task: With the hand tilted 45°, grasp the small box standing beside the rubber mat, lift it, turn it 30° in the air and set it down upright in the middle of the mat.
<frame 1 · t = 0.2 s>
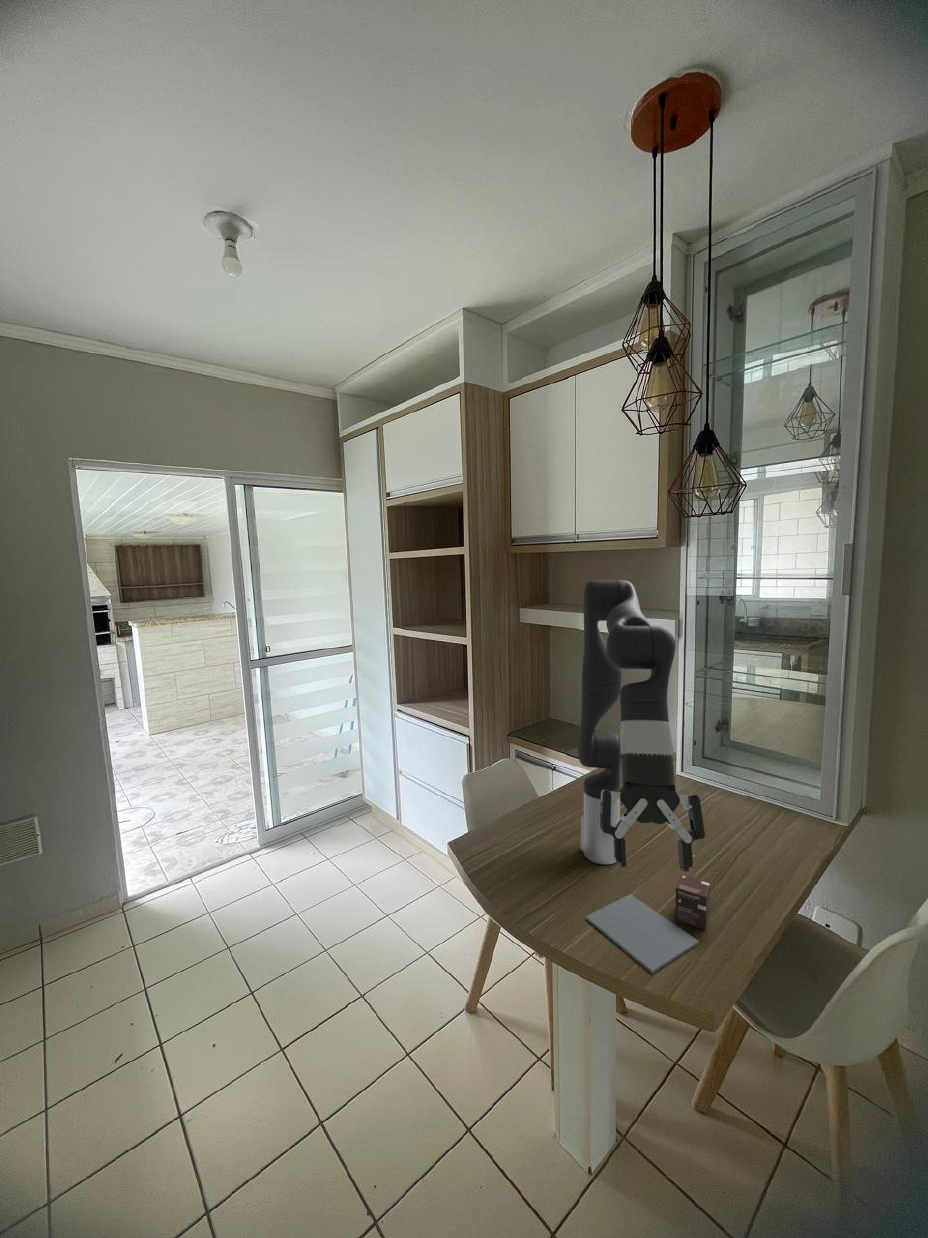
hand: (653, 868, 69), 31 cm above the table, tool tilted 20°, fingers open, 8 cm apart
box: (692, 918, 103), on the table
mat: (640, 931, 99), on the table
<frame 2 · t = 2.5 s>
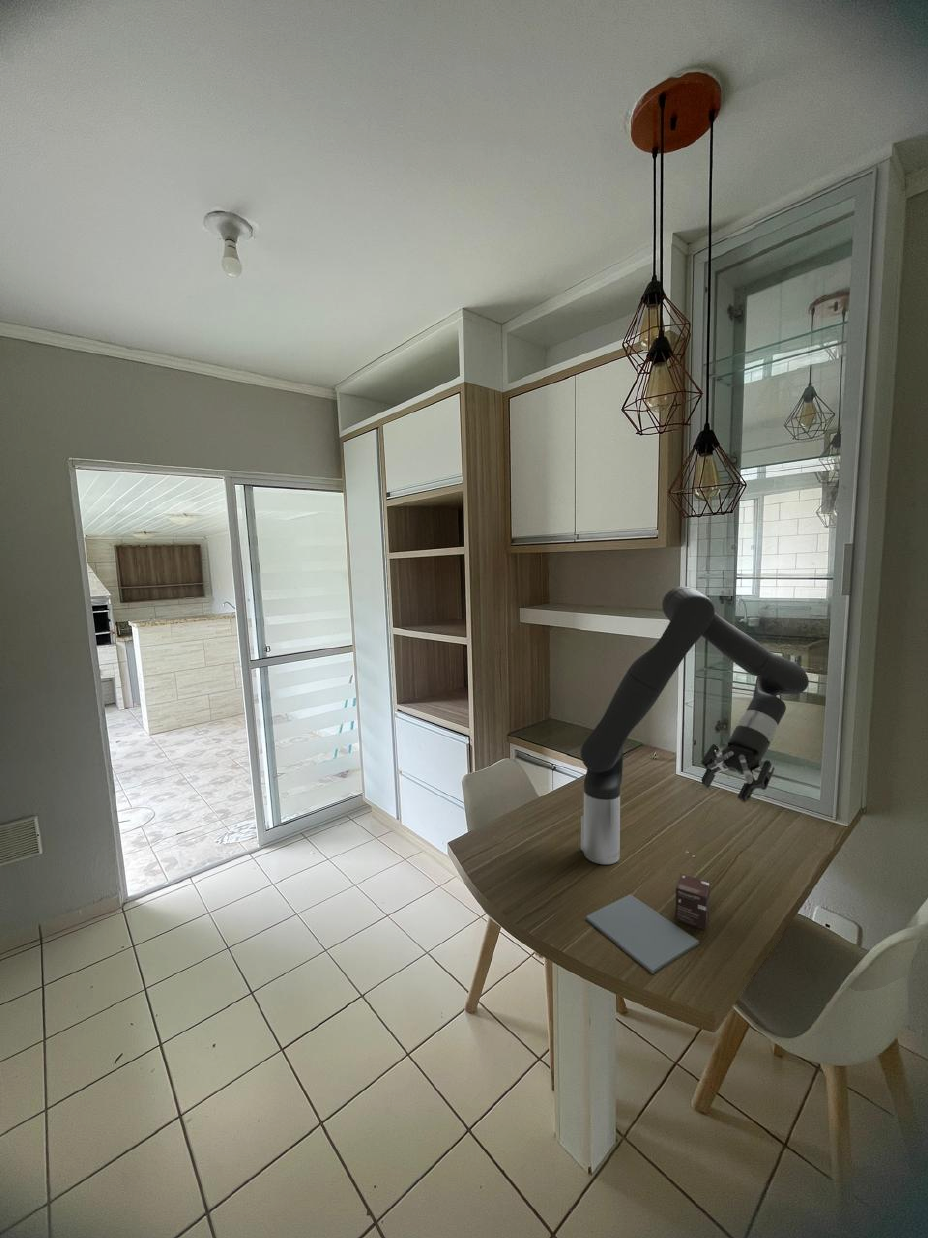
hand: (722, 793, 108), 25 cm above the table, tool tilted 45°, fingers open, 8 cm apart
nothing on the table moved.
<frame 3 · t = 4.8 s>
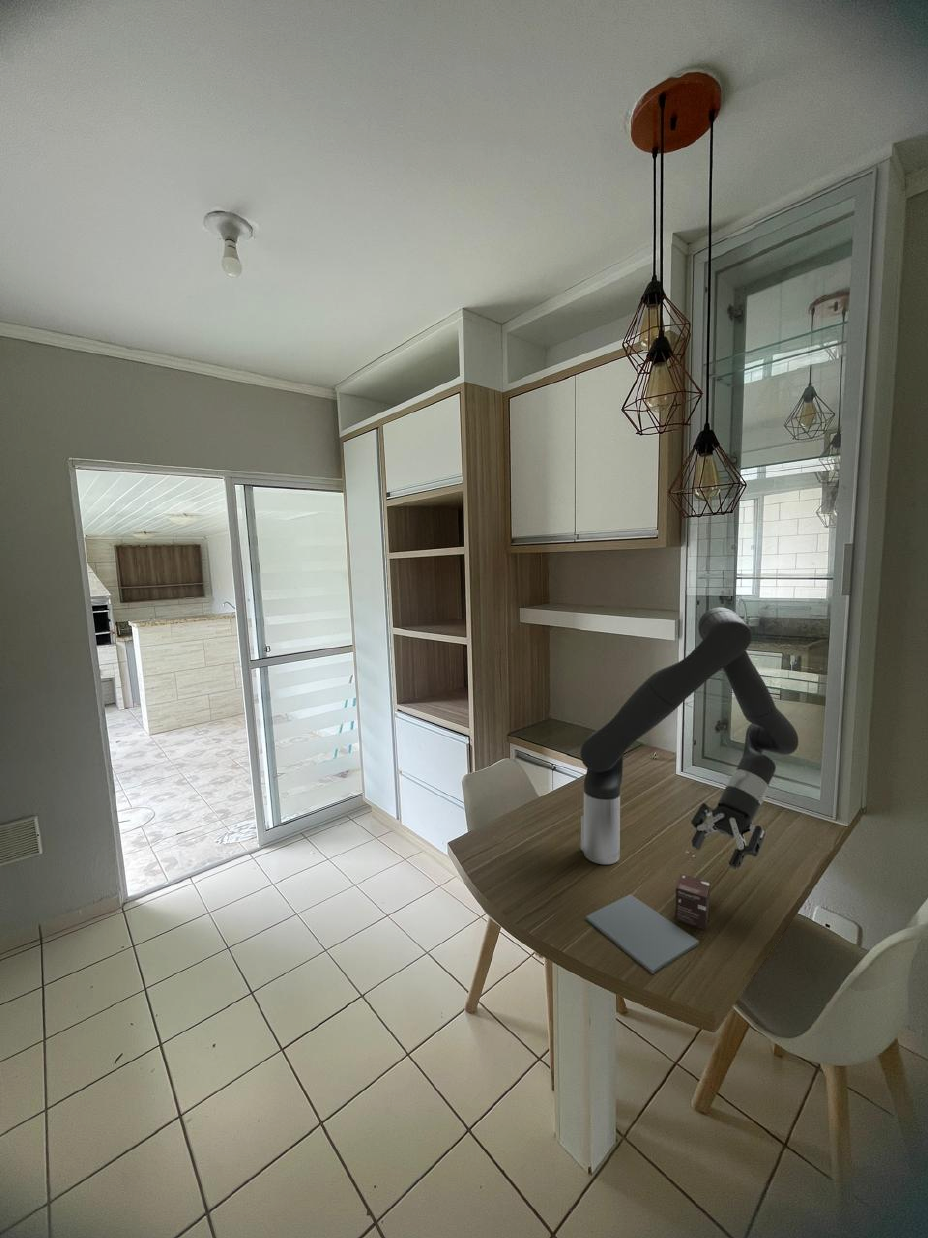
hand: (712, 857, 106), 11 cm above the table, tool tilted 45°, fingers open, 8 cm apart
nothing on the table moved.
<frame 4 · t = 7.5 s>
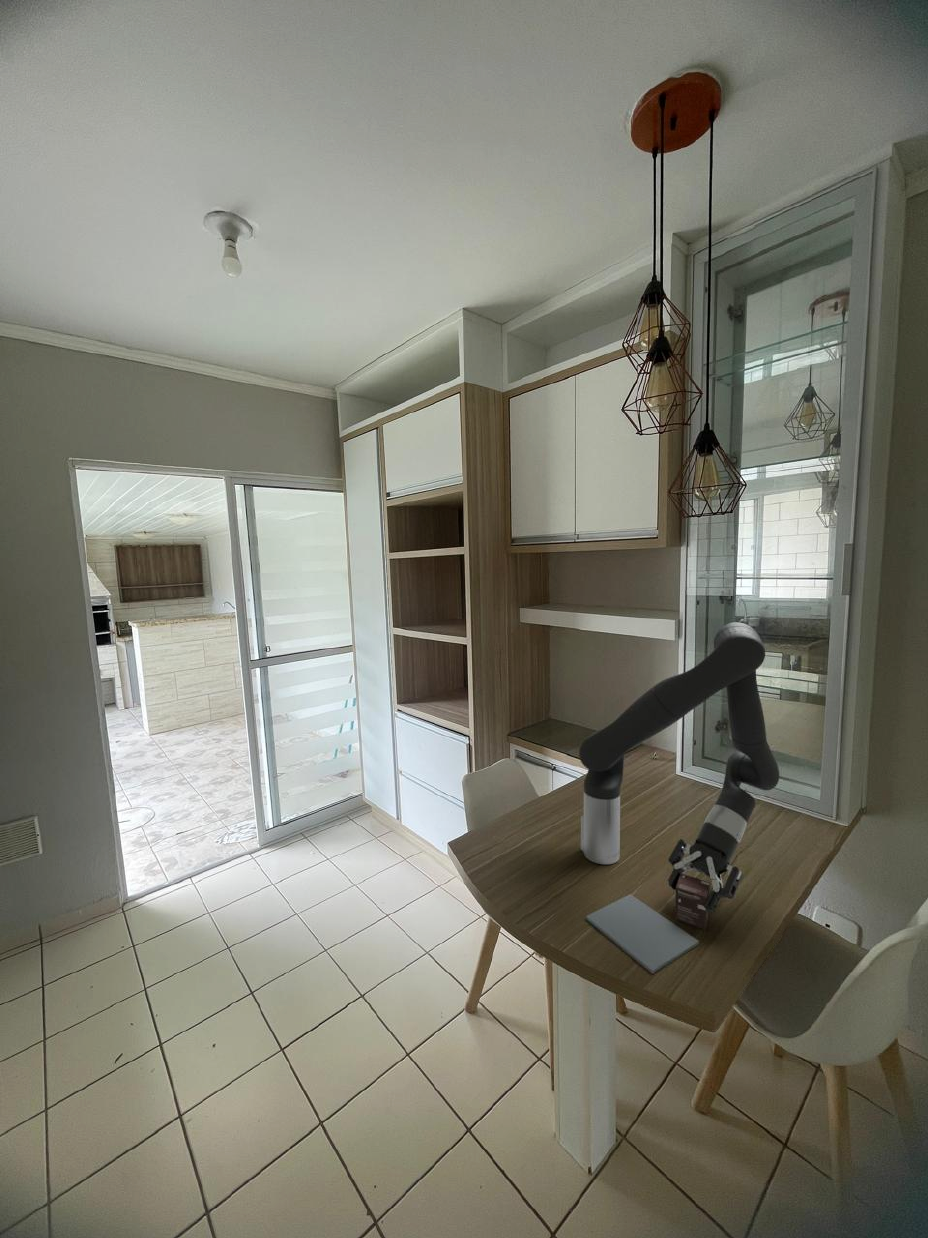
hand: (688, 898, 102), 5 cm above the table, tool tilted 45°, fingers closed on box, 8 cm apart
box: (692, 917, 103), on the table, touching gripper
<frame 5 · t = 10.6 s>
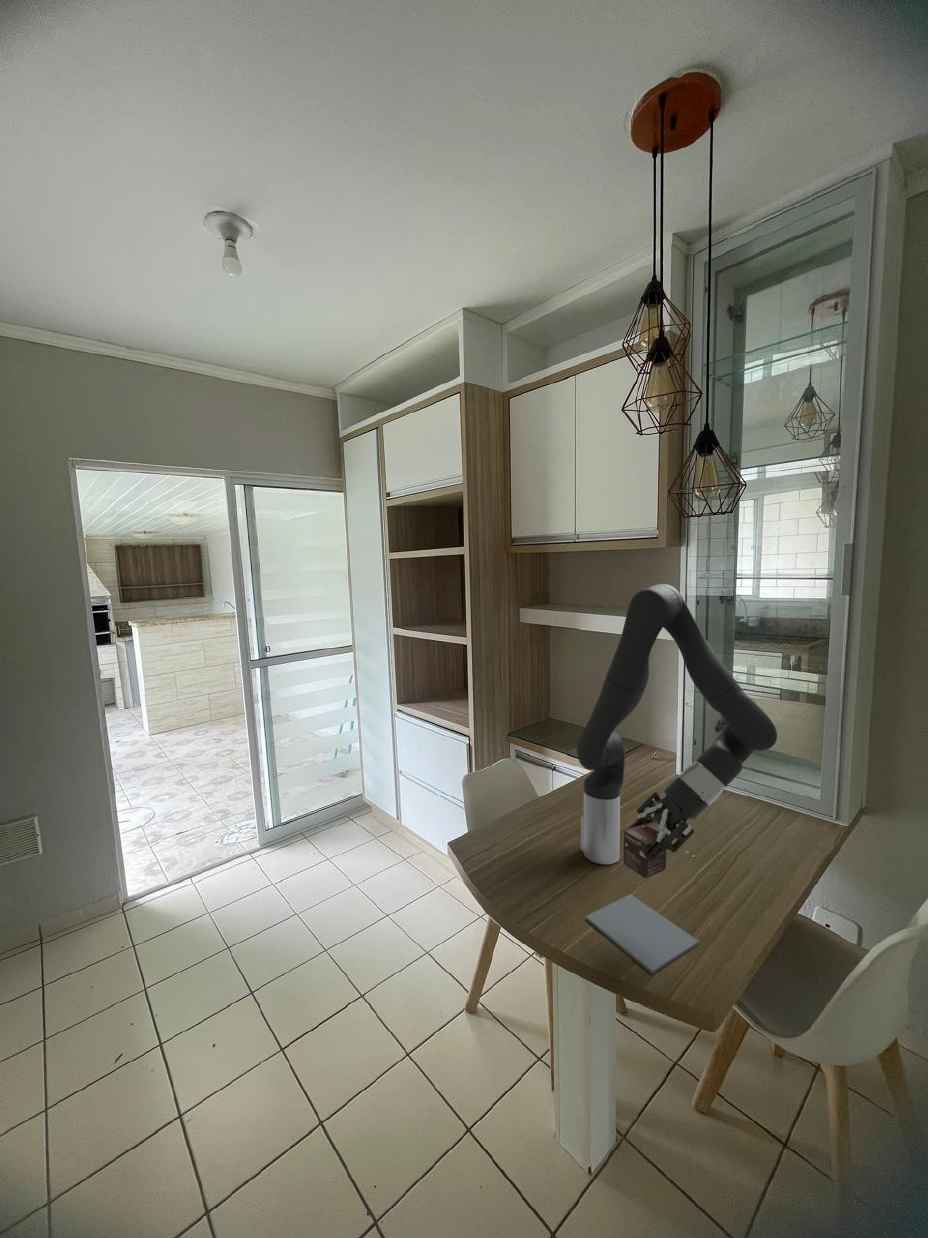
hand: (638, 845, 98), 18 cm above the table, tool tilted 45°, fingers closed on box, 8 cm apart
box: (644, 868, 98), point 14 cm above the table, touching gripper
when the fingers open (7 cm above the table, at t = 14.0 s): box drops 1 cm, resting on mat.
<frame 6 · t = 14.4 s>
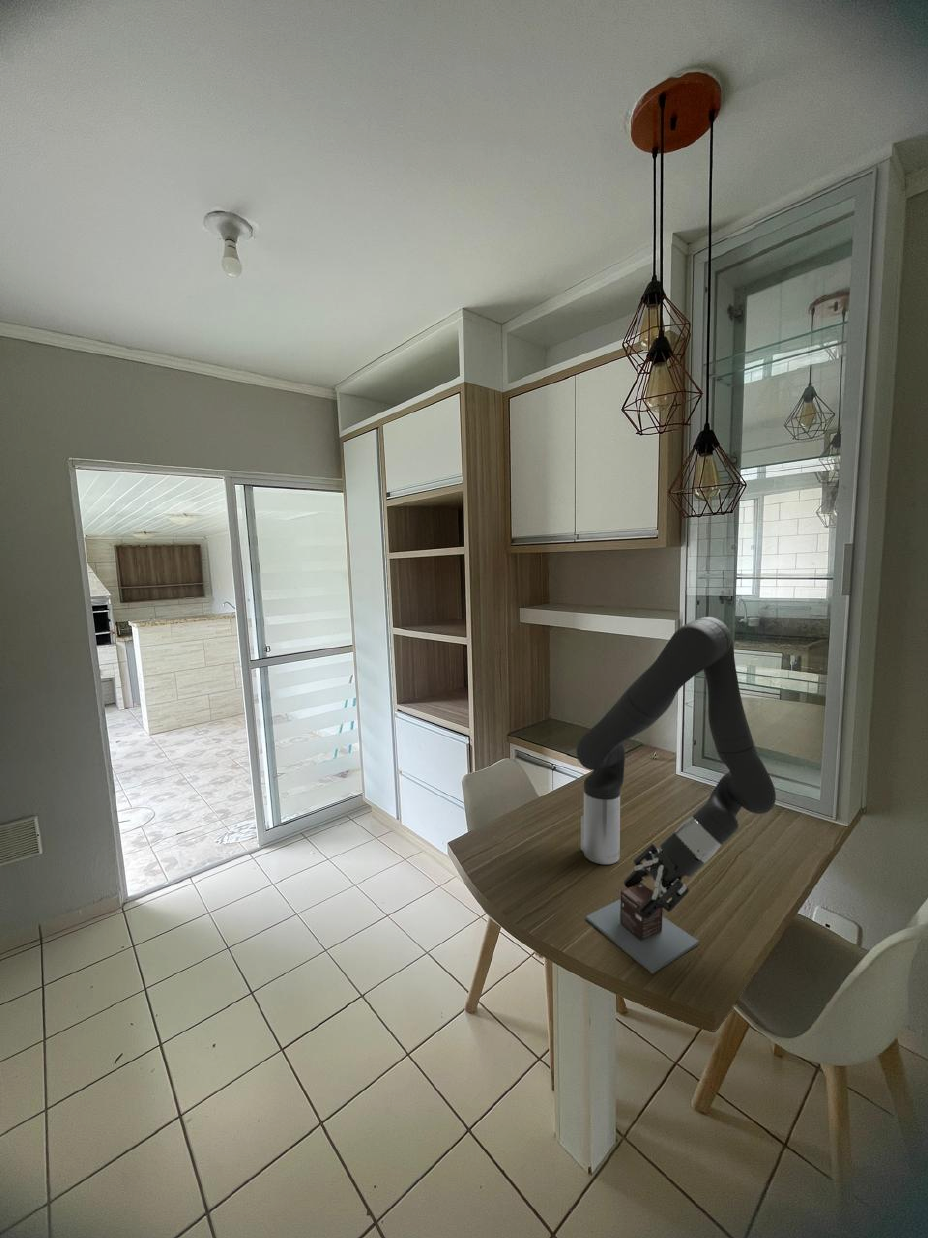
hand: (634, 900, 99), 7 cm above the table, tool tilted 45°, fingers open, 8 cm apart
box: (640, 928, 99), resting on mat
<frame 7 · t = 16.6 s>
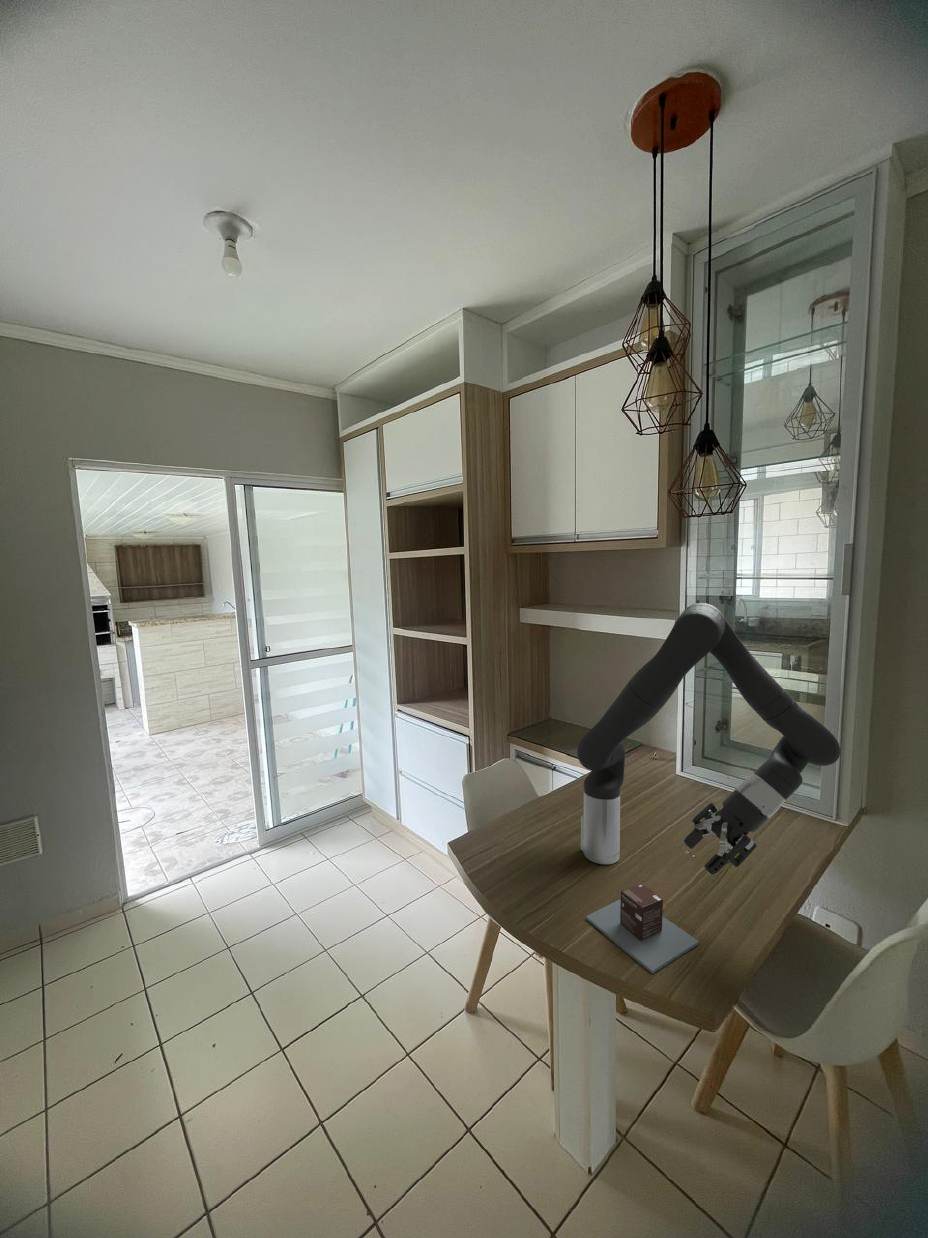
hand: (697, 857, 99), 15 cm above the table, tool tilted 45°, fingers open, 8 cm apart
nothing on the table moved.
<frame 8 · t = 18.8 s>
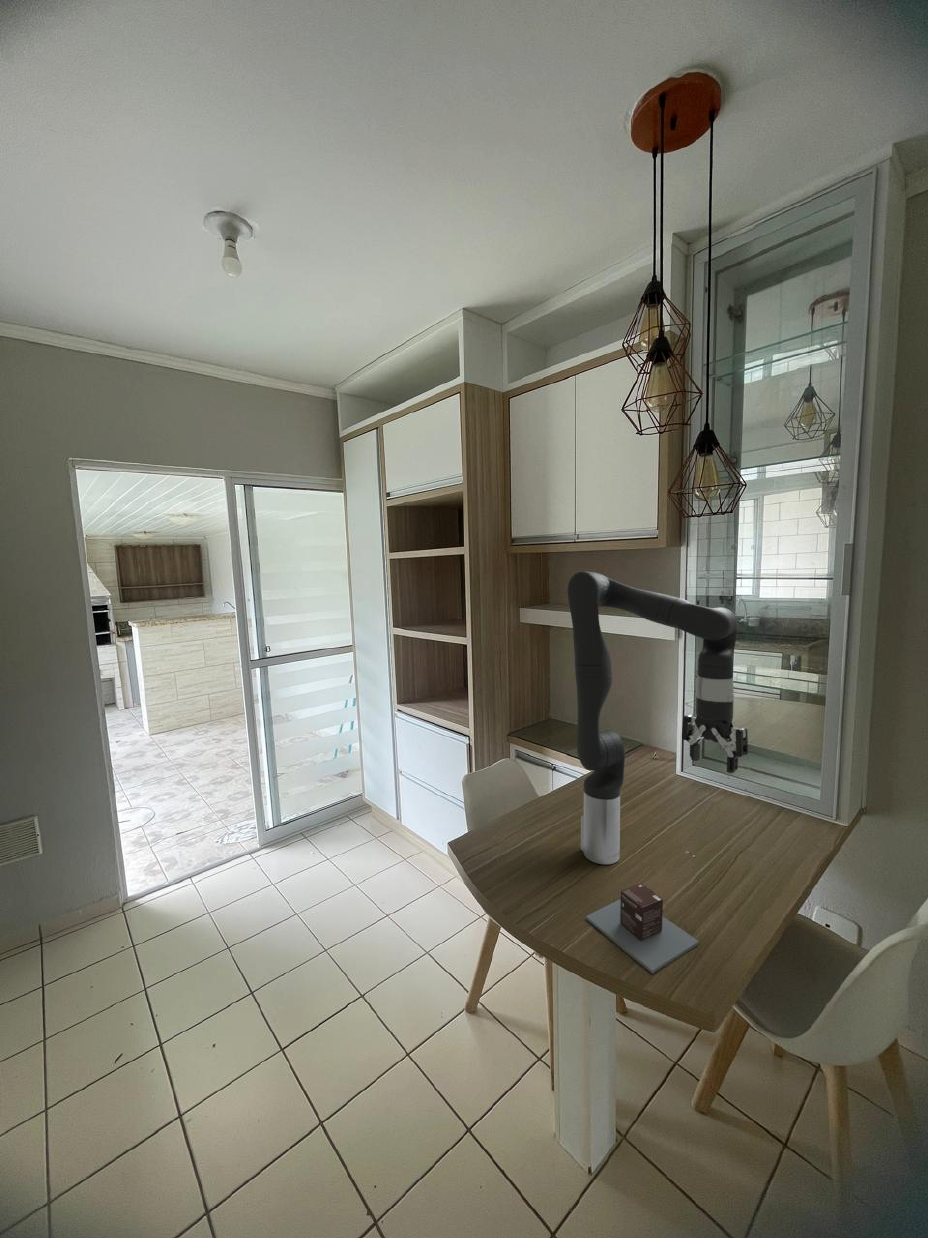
hand: (712, 766, 109), 30 cm above the table, tool pointing down, fingers open, 8 cm apart
nothing on the table moved.
at the end: box inside the target area on the mat (0.2 cm from its centre), point 0.4 cm above the mat's base; box tilted 0°; the gripper is holding nothing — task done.
